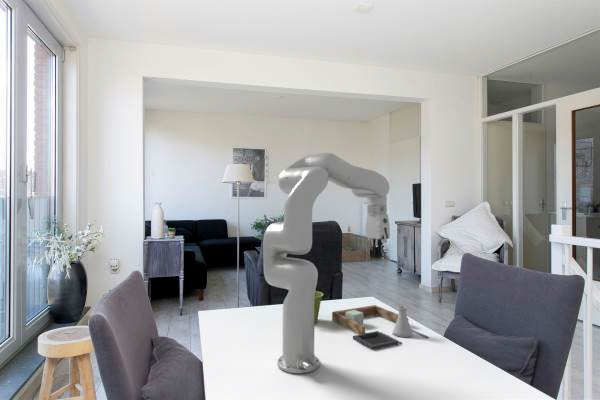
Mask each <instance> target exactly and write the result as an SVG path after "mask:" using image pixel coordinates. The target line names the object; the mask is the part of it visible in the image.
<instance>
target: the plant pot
mask: <svg viewBox="0 0 600 400" xmlns="http://www.w3.org/2000/svg"><path fill="white" fill-rule="evenodd" d="M323 296H324V293H323V292H321V291H317V290H315V300H314V324H316V323H317V322H318V321H319V319H318V318H319V312H320V308H321V302H322V299H323Z"/></svg>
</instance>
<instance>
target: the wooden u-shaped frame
mask: <svg viewBox="0 0 600 400" xmlns="http://www.w3.org/2000/svg"><path fill="white" fill-rule="evenodd" d="M352 310H356V311H359V312H362V313H363V318H364V317H369V316H370V317H371V316H378V317H380V318H383V319H384V320H387V321H389V322H392V323H395V324H396V322H397V319H398V314H399V313H396V312H394V311H391V310H389V309H387V308H384V307H381V306H378V305H376V304H374V305H368V306H367V305H366V306H362V307H355V308H347V309H342V310H335V311H332V312H331V319H332V320H331V321H333V322H334V323H336V324H338V325H340V326H342V327H344V328H346V329H347V330H349V331H351V332H353V333H355V334H356V335H360V334H365V333H366V326H365V325H364V324H363V325H361V324H359V323H357V322H355V321H353V320H351V319H349V318H347V317H345V312H348V311H352ZM407 319H408V320H409V318H408V317H407Z"/></svg>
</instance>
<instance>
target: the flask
mask: <svg viewBox="0 0 600 400" xmlns="http://www.w3.org/2000/svg"><path fill="white" fill-rule="evenodd" d="M397 309H398V313H397V314H398V319H397V322H396V323H395V324H394V328H393V330H392V335H394V336H396V337H401V338H409V337H413V334H414V332H412V330H413V329H412V328H411V327H412V326H411V325H410V323H409V318H408V315H407V309H408V307H407V306H404V305H403V306H402V305H401V306H398V307H397ZM407 318H408V319H407ZM411 329H412V330H411Z"/></svg>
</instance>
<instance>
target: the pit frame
mask: <svg viewBox="0 0 600 400" xmlns="http://www.w3.org/2000/svg"><path fill="white" fill-rule="evenodd" d="M381 332H382V331H379V330H375V331H370V332H365V334H360V335H358V334H355V335H352V340H353V341H355V342H357V343H359V344H361V345H362V346H364V347H366V348H368V349H369V350H371V351H376V350H380V349H383V348H389V347H393V346H397V345H399V343H398V341H399V340H398V339H396V338H394V337H392V336H390V335H388V336H387V334H386V333H384V332H382V333H381ZM383 333H384V334H383ZM385 334H386V335H385ZM389 336H390V337H389ZM391 337H392V338H391ZM393 338H394V339H393ZM395 339H396V340H395ZM397 340H398V341H397Z"/></svg>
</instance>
